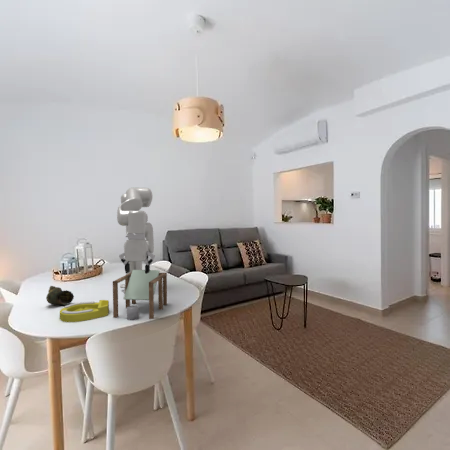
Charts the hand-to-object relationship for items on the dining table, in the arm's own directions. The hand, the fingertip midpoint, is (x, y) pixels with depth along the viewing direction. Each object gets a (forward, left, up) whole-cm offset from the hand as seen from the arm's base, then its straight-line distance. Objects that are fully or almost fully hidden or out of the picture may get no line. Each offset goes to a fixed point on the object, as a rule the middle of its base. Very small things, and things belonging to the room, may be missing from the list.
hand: (137, 272), depth 134 cm
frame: (0, +4, -20) cm, 20 cm away
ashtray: (-25, -4, -20) cm, 32 cm away
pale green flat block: (0, +9, -10) cm, 13 cm away
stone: (0, -5, -15) cm, 16 cm away
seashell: (-46, +7, -20) cm, 51 cm away
